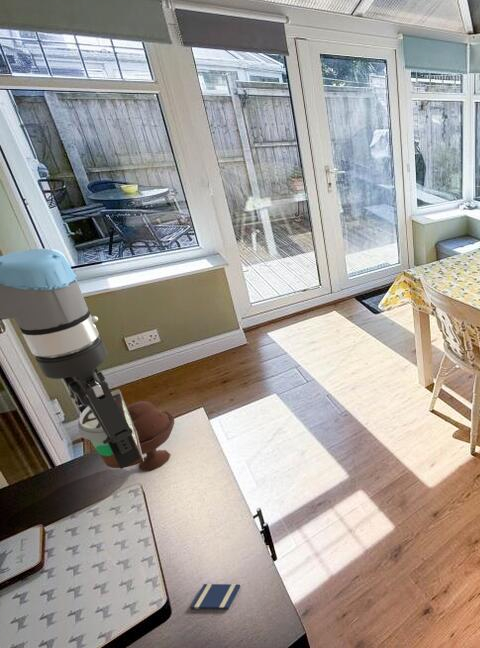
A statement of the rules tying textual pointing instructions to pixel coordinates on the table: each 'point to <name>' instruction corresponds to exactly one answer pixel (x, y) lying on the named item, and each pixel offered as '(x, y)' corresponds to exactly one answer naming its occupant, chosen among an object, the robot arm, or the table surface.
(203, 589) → the tea towel
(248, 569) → the table surface
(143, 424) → the ice cream bowl
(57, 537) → the table surface
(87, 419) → the food container
